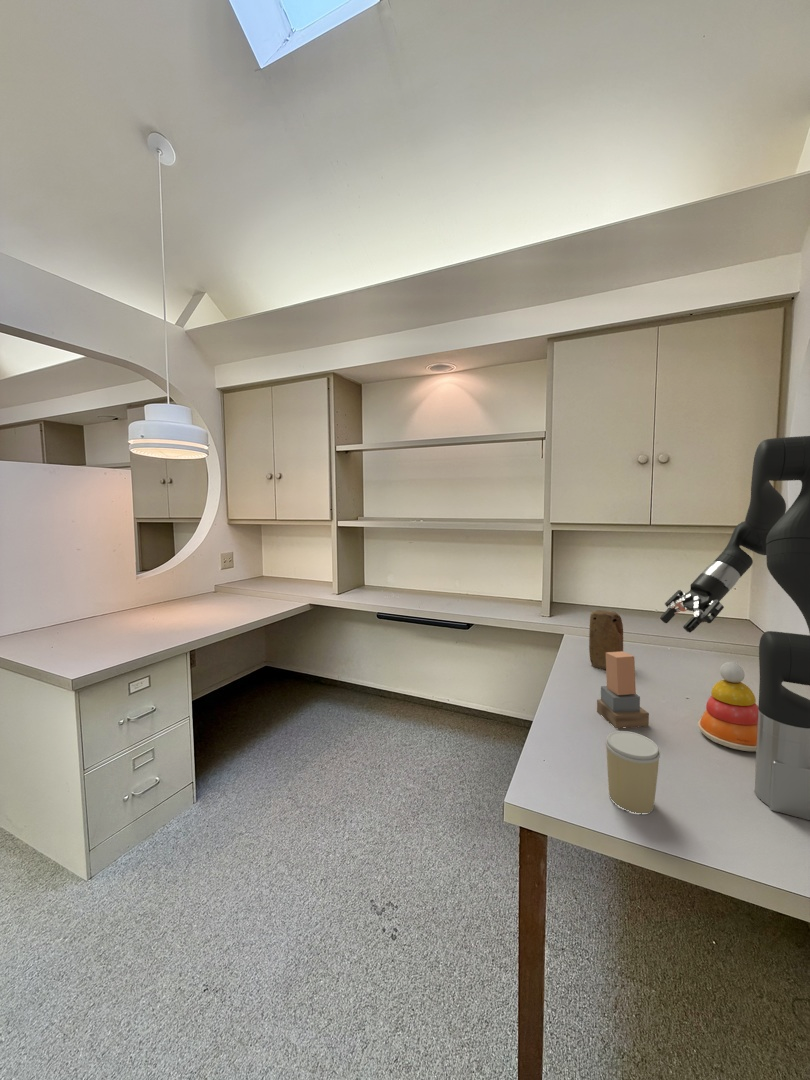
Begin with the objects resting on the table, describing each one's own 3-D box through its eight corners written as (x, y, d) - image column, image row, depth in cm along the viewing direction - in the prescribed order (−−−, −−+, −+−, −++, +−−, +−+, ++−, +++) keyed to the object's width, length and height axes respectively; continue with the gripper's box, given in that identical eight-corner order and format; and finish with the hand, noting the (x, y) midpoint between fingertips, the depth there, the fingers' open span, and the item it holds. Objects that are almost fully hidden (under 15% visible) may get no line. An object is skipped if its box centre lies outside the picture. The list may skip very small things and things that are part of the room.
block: (587, 666, 149) (587, 612, 148) (593, 660, 155) (594, 607, 153) (620, 673, 142) (621, 616, 141) (625, 666, 148) (626, 612, 147)
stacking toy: (763, 732, 105) (767, 657, 103) (778, 763, 92) (783, 678, 91) (695, 719, 112) (697, 648, 110) (700, 745, 100) (703, 667, 98)
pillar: (635, 693, 110) (634, 656, 110) (618, 695, 110) (616, 657, 110) (624, 687, 115) (622, 651, 115) (607, 688, 114) (605, 652, 114)
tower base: (648, 727, 109) (648, 713, 108) (616, 730, 108) (616, 715, 108) (627, 711, 118) (627, 697, 117) (596, 713, 117) (597, 699, 117)
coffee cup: (639, 784, 87) (641, 729, 86) (669, 817, 77) (671, 756, 76) (595, 786, 86) (596, 730, 85) (620, 819, 77) (622, 758, 76)
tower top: (639, 711, 109) (639, 696, 109) (613, 712, 109) (613, 697, 109) (625, 699, 116) (625, 685, 116) (600, 699, 116) (600, 686, 116)
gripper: (686, 568, 119) (647, 609, 119) (729, 577, 105) (685, 623, 104) (702, 586, 120) (664, 627, 119) (747, 596, 105) (704, 643, 105)
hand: (674, 625), depth 112 cm, fingers open, 8 cm apart
